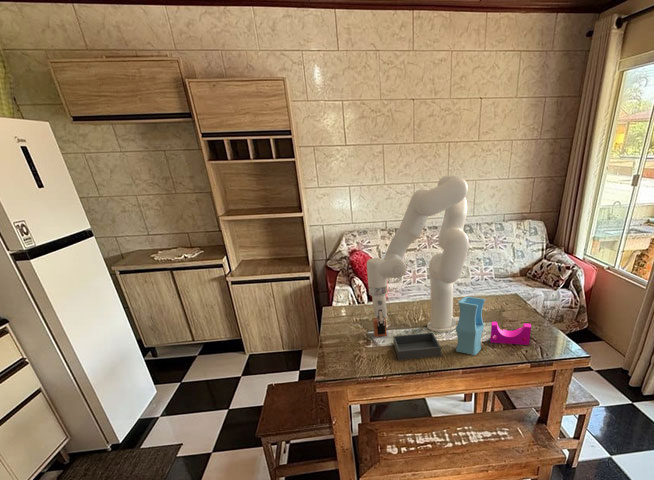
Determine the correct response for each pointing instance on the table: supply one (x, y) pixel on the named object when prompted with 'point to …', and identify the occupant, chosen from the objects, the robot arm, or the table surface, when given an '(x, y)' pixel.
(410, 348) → the tub
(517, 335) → the toy block
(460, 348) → the vase
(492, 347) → the table surface
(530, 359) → the table surface
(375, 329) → the wooden block
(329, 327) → the table surface
